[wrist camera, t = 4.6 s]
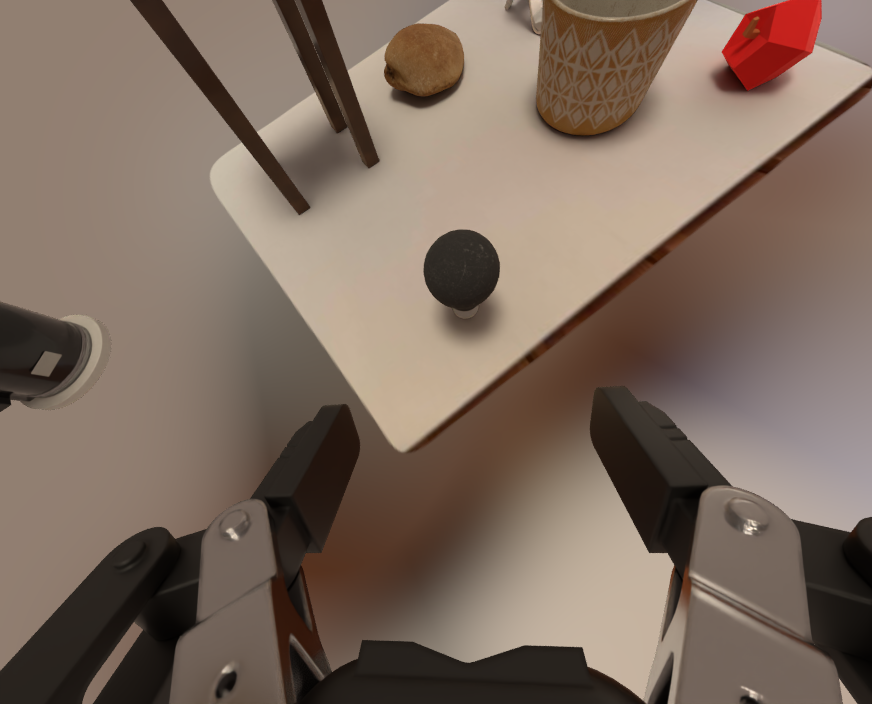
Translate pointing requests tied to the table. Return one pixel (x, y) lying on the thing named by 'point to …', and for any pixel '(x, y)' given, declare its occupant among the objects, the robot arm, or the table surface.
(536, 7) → the tablet stand
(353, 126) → the walnut stand
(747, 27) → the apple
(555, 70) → the planter
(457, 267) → the light bulb
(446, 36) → the stone
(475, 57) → the table surface
